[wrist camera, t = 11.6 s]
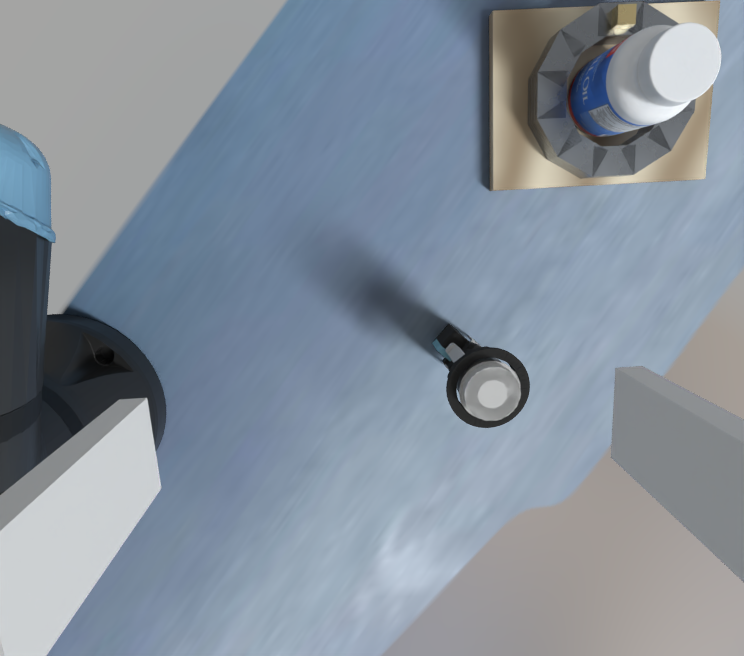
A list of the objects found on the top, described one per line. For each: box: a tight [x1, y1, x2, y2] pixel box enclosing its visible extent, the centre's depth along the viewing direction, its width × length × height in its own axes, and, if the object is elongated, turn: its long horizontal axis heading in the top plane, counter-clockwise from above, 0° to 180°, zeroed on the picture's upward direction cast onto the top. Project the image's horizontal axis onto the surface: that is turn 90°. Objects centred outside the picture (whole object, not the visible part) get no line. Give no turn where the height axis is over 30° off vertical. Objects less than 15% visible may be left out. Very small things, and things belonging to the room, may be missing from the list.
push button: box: [432, 324, 530, 428], centre depth 37 cm, size 7×5×10 cm
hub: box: [527, 1, 696, 179], centre depth 36 cm, size 11×11×3 cm
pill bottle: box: [567, 22, 721, 137], centre depth 32 cm, size 6×5×10 cm
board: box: [489, 1, 720, 191], centre depth 38 cm, size 16×12×1 cm
